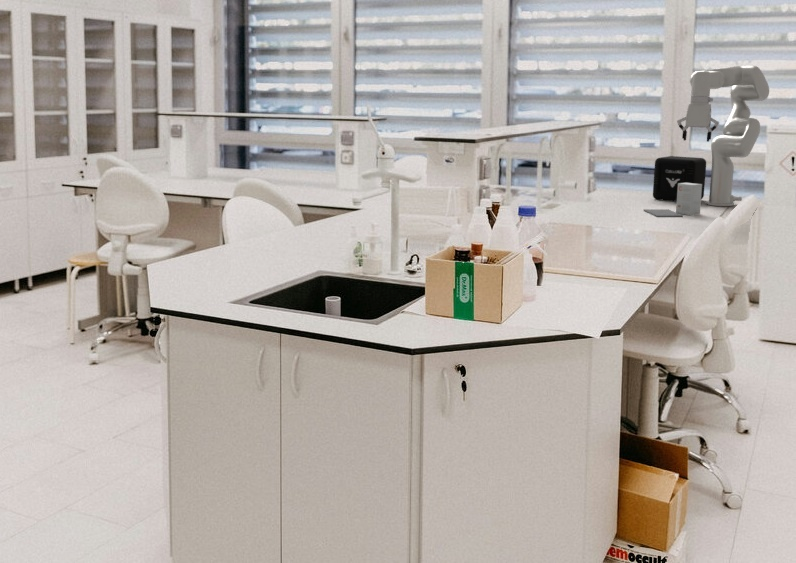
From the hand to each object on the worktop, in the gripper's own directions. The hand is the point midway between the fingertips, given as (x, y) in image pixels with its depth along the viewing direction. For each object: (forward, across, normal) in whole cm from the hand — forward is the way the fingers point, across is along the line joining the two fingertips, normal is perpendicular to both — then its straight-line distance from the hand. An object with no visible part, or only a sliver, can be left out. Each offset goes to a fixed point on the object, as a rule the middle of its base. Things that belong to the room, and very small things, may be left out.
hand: (696, 140), depth 396 cm
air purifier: (+30, +10, -35) cm, 47 cm away
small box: (+31, 0, +10) cm, 33 cm away
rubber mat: (+31, +9, +15) cm, 36 cm away
